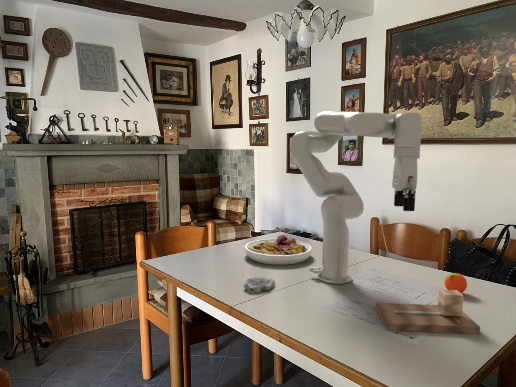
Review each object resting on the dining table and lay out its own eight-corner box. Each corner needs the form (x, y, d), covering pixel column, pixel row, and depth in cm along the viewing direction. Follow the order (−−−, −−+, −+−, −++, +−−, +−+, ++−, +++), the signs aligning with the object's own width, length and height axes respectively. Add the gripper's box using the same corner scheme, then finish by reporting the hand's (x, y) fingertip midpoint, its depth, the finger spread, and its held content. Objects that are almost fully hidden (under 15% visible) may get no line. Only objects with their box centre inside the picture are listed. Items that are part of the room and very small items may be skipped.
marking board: (387, 330, 104) (387, 321, 103) (375, 309, 117) (375, 301, 117) (479, 334, 102) (480, 325, 102) (456, 312, 116) (456, 304, 115)
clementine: (451, 298, 127) (453, 277, 126) (436, 290, 133) (437, 270, 133) (471, 295, 129) (472, 275, 128) (455, 288, 136) (457, 269, 135)
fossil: (257, 288, 127) (238, 274, 134) (254, 299, 128) (235, 285, 134) (280, 283, 135) (261, 271, 142) (277, 293, 136) (258, 281, 143)
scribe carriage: (443, 315, 107) (444, 294, 106) (437, 309, 111) (439, 289, 110) (464, 316, 107) (465, 295, 106) (457, 310, 111) (459, 290, 110)
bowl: (309, 269, 157) (310, 250, 156) (238, 264, 162) (238, 246, 161) (312, 250, 186) (313, 234, 185) (252, 247, 191) (252, 231, 191)
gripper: (386, 153, 127) (384, 204, 129) (402, 153, 110) (399, 212, 112) (410, 153, 127) (407, 204, 129) (429, 154, 109) (426, 213, 111)
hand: (403, 208), depth 120 cm, fingers open, 9 cm apart
